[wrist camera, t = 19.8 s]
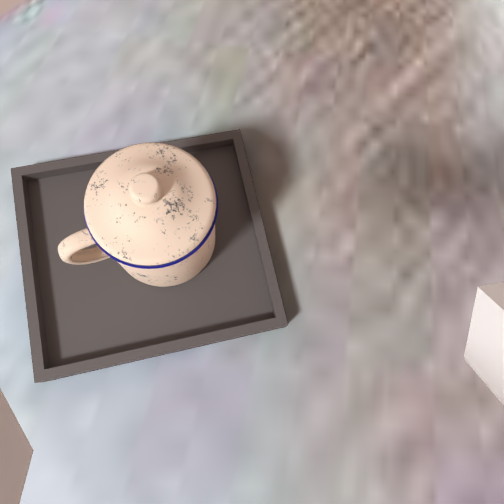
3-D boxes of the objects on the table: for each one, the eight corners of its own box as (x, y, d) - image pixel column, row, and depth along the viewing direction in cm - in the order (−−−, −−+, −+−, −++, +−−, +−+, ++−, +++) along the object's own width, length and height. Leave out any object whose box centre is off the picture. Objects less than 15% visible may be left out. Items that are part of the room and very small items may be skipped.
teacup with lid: (194, 175, 41) (185, 101, 30) (234, 265, 39) (241, 223, 28) (64, 223, 39) (1, 164, 28) (100, 321, 37) (48, 300, 26)
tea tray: (238, 139, 43) (239, 129, 41) (284, 326, 39) (288, 324, 37) (19, 177, 40) (10, 168, 39) (43, 382, 36) (34, 382, 34)
